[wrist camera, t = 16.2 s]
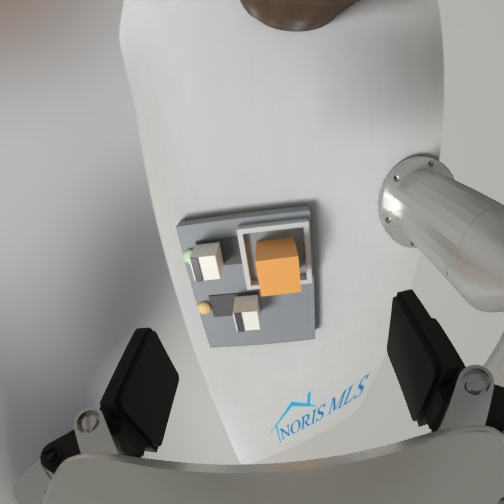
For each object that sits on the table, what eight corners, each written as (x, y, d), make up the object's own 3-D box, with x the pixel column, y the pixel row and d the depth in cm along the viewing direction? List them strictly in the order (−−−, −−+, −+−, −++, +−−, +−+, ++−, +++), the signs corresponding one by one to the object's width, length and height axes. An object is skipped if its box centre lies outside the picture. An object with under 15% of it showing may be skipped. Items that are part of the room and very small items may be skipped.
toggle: (223, 264, 36) (219, 279, 33) (200, 266, 36) (194, 282, 33) (219, 242, 35) (214, 256, 31) (195, 244, 35) (188, 259, 32)
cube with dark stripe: (260, 312, 39) (260, 330, 36) (238, 314, 39) (236, 332, 36) (257, 294, 38) (257, 312, 34) (234, 296, 38) (232, 314, 35)
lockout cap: (296, 269, 36) (301, 291, 32) (261, 273, 37) (261, 296, 32) (293, 236, 34) (298, 256, 30) (256, 241, 35) (255, 261, 30)
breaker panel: (313, 330, 43) (316, 344, 40) (212, 338, 45) (209, 353, 42) (307, 205, 35) (311, 213, 32) (180, 221, 36) (173, 230, 33)
